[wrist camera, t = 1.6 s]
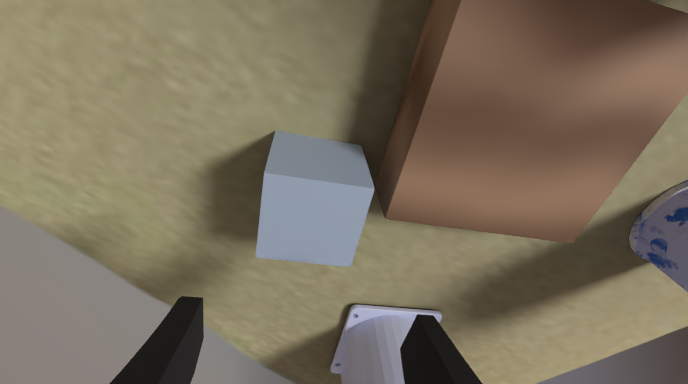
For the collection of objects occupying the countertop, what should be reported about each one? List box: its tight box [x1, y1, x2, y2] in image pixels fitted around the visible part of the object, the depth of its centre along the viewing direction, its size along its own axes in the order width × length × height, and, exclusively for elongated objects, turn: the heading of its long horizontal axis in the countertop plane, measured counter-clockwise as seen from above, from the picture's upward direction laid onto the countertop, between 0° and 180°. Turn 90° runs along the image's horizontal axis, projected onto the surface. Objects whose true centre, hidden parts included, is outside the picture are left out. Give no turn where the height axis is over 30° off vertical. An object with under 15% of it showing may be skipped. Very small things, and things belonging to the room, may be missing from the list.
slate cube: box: [256, 131, 375, 267], centre depth 18 cm, size 5×5×5 cm
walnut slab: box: [375, 0, 688, 243], centre depth 17 cm, size 12×12×4 cm
